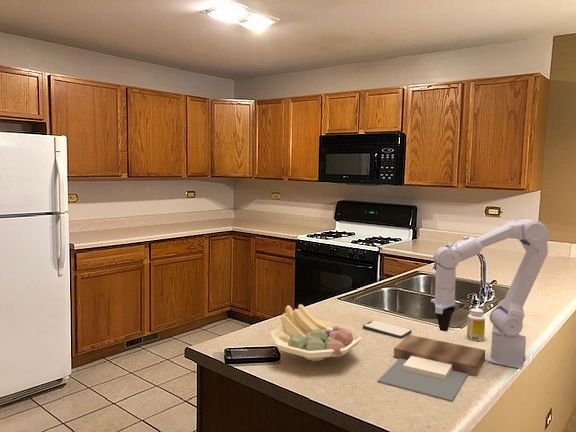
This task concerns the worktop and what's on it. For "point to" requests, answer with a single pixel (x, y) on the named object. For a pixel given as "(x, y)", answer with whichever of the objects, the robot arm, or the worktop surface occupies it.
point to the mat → (424, 382)
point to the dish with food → (313, 335)
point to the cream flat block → (427, 367)
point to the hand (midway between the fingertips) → (443, 330)
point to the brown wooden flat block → (442, 353)
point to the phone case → (387, 329)
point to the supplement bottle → (476, 325)
